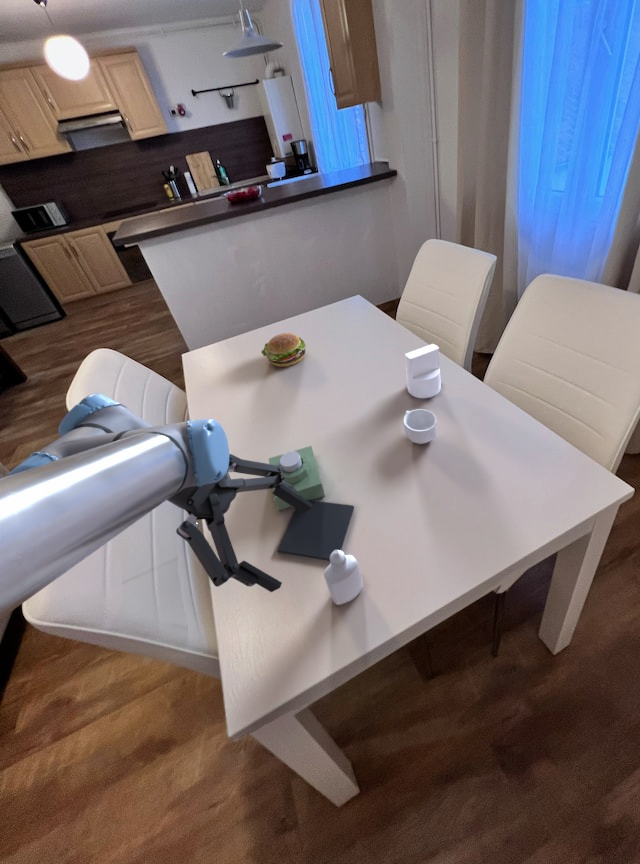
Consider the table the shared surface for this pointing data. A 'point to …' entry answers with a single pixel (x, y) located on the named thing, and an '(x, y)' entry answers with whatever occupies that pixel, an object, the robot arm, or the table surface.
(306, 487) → the green button base
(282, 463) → the grey round button
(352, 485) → the table surface
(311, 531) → the mat
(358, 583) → the eye dropper bottle
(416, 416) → the teacup
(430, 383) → the cylinder with rectangular tab
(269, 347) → the food
